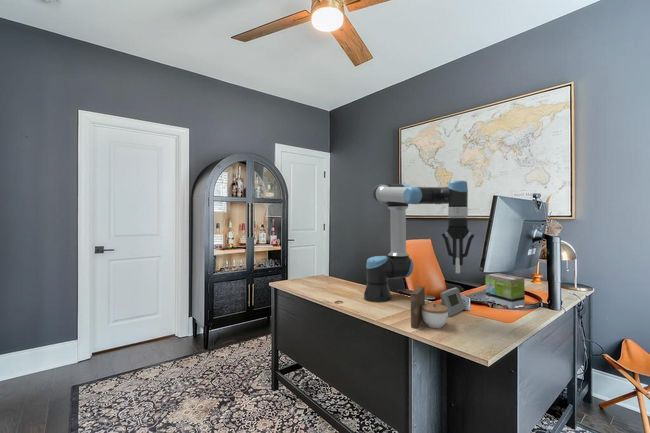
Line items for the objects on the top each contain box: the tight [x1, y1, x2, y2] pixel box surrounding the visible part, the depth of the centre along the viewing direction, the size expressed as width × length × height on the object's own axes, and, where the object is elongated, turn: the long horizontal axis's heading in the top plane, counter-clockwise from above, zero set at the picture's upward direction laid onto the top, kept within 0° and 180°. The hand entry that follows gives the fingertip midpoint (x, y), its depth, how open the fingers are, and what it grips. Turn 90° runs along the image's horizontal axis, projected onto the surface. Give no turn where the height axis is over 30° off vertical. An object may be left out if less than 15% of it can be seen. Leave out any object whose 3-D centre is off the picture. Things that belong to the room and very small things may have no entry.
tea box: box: [484, 272, 526, 310], centre depth 159 cm, size 15×10×15 cm, turn 23°
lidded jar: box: [421, 302, 449, 329], centre depth 130 cm, size 11×11×9 cm
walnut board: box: [410, 286, 426, 329], centre depth 134 cm, size 2×15×14 cm, turn 150°
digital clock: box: [439, 287, 466, 317], centre depth 148 cm, size 16×9×11 cm, turn 121°
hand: (457, 272), depth 132 cm, fingers closed
